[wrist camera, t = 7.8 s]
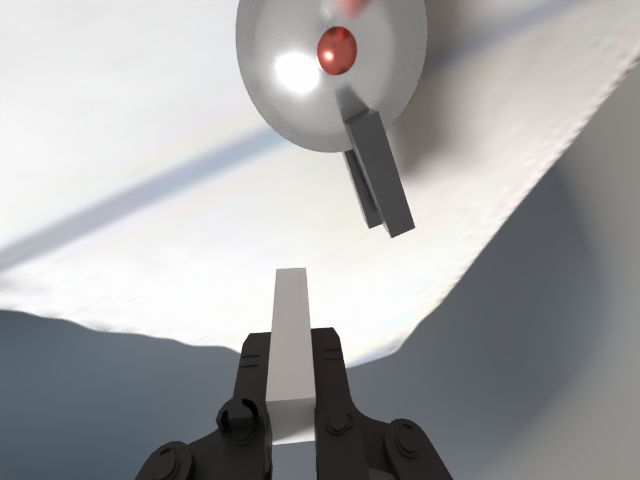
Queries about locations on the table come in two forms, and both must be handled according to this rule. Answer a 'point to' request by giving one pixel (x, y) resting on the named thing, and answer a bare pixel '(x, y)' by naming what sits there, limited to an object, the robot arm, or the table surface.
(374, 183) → the lid
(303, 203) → the table surface
